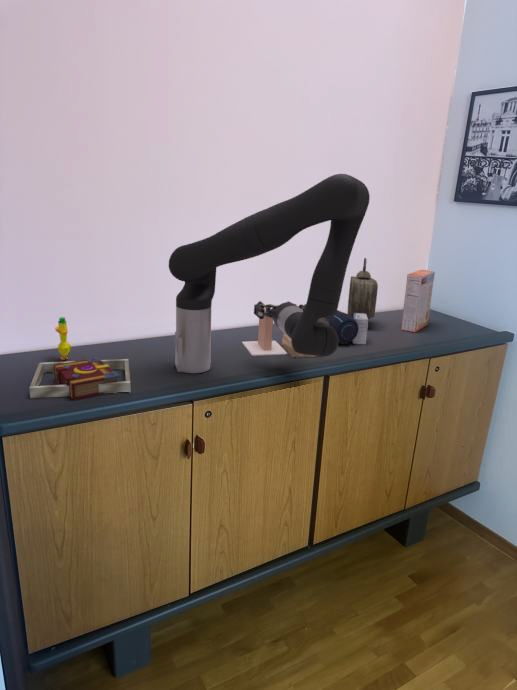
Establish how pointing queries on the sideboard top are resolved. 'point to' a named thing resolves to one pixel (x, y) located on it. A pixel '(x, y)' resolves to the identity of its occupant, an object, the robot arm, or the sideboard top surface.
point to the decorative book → (84, 376)
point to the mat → (258, 351)
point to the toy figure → (63, 338)
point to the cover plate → (265, 333)
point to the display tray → (63, 390)
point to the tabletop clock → (362, 294)
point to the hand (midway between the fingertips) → (273, 304)
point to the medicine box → (361, 328)
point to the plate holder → (288, 347)
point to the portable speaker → (342, 326)
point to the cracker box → (417, 300)
